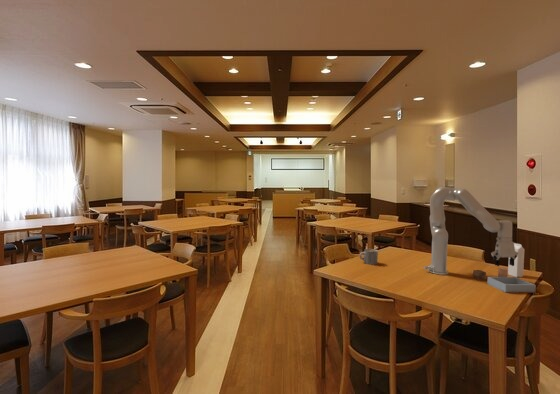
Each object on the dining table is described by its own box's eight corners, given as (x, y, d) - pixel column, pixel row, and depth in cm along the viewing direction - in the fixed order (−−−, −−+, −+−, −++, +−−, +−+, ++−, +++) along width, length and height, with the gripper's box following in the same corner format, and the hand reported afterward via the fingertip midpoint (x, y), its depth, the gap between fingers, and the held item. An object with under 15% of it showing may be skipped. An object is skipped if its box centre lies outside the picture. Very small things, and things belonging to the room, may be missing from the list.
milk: (516, 277, 201) (518, 244, 200) (507, 274, 207) (509, 242, 206) (523, 276, 203) (525, 244, 202) (514, 273, 209) (515, 242, 208)
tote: (505, 292, 172) (505, 284, 172) (487, 283, 187) (487, 276, 187) (535, 292, 173) (535, 285, 172) (515, 284, 187) (515, 277, 187)
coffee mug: (377, 261, 236) (377, 249, 235) (377, 265, 227) (377, 252, 226) (359, 260, 240) (360, 248, 240) (359, 263, 231) (359, 250, 230)
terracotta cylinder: (501, 280, 193) (502, 270, 193) (495, 278, 198) (496, 267, 198) (509, 280, 193) (509, 270, 193) (503, 278, 198) (503, 267, 198)
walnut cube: (478, 279, 195) (478, 272, 195) (473, 277, 200) (473, 270, 200) (485, 279, 195) (486, 272, 195) (480, 277, 200) (480, 270, 200)
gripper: (495, 240, 191) (495, 267, 191) (522, 240, 191) (522, 266, 192) (487, 238, 198) (487, 264, 199) (513, 238, 198) (512, 263, 199)
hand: (504, 265), depth 195 cm, fingers open, 9 cm apart
